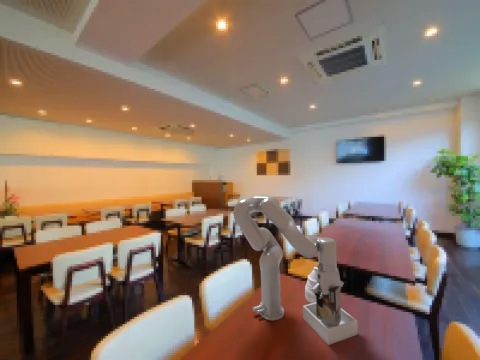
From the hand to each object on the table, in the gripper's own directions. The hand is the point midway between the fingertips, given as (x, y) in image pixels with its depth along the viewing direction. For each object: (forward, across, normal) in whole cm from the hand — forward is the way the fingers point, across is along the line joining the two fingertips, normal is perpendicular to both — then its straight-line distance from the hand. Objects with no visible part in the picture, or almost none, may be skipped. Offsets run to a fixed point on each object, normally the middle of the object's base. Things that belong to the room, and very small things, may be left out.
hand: (328, 303), depth 91 cm
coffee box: (+7, 0, 0) cm, 7 cm away
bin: (+10, 0, 0) cm, 10 cm away
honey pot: (+11, +9, +18) cm, 23 cm away
